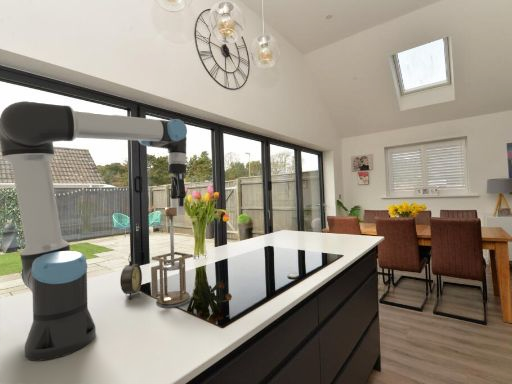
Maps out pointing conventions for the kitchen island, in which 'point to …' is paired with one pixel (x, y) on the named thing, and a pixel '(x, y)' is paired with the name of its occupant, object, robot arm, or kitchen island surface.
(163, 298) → the press frame
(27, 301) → the kitchen island surface
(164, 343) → the kitchen island surface
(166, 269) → the plunger
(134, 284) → the alarm clock
